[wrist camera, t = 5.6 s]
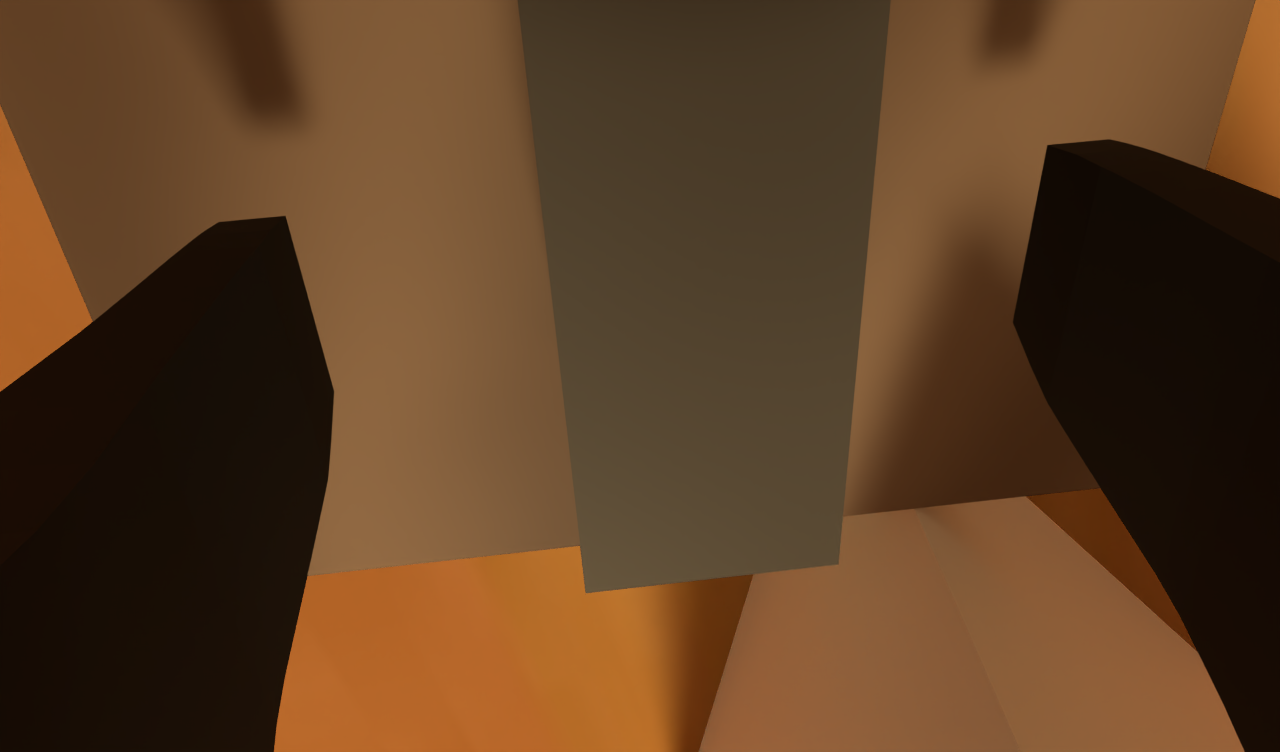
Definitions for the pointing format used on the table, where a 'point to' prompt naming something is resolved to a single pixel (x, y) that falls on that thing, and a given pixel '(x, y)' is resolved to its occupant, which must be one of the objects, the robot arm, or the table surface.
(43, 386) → the robot arm
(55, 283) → the table surface
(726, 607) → the table surface
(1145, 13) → the lid
